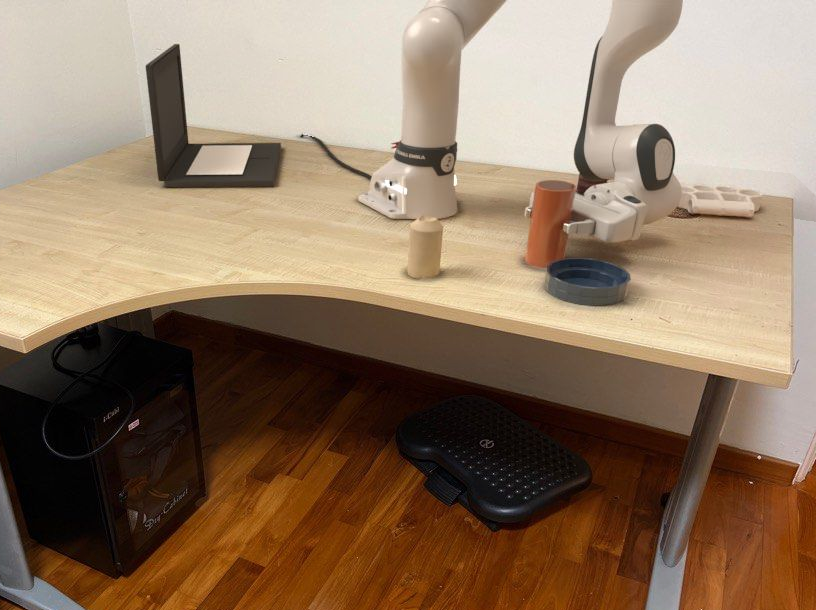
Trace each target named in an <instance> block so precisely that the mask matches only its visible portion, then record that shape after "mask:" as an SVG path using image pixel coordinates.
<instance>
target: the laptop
mask: <svg viewBox="0 0 816 610" xmlns="http://www.w3.org/2000/svg"><path fill="white" fill-rule="evenodd" d="M145 74H146V83H147V92H148V100H149V108H150V116H151V117H150V118H151V126H152V135H153V136H152V138H153V145H154V153H155V154H154V155H155V162H156V171H157V172H156V173H157V179H158V182H163V184H164V188H263V187H264V188H265V187H266V188H273V187H274V186H275V185H274V184H275V179H276V174H277V169H278V165H279V159H280V155H281V151H282V143H281V142H227V143H226V142H225V143H223V142H221V143H218V142H216V143H215V142H214V143H209V142H208V143H189V135H188V123H187V122H188V121H187V111H186V101H185V90H184V88H185V87H184V79H183V67H182V57H181V46H180V43H173V45H170V47H168V48H167V49H166V50H163V52H162V53H160V54H159V55H158V56H156V57H155V58H154V59H152V60H151V61H150V62H148V63H147V64H145Z"/></svg>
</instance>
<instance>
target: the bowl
mask: <svg viewBox="0 0 816 610" xmlns="http://www.w3.org/2000/svg"><path fill="white" fill-rule="evenodd" d="M631 279H632V278H631V273H629V271H627V270H626V268H623V267H621V266H620V265H618V264H615V263H612V262H609V261H606V260H602V259H596V258H587V257H567V258H566V257H565V258H564V259H559V260H556V261H554V262H551V263H550V264H549V265H548V266H547V268H545V275H544V281H543V289H545V290H546V292H547V294H550V295H551V296H552V297H554V298H557V299H558V300H562V301H565V302H568V303H571V304H572V303H573V304H575V305H584V306H594V307H595V306H609V305H614V304H618V303H620V302H622V301H624V300H625V299H626V298H627V296H628V293H629V290H630V289H629V288H630V285H631Z"/></svg>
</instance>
